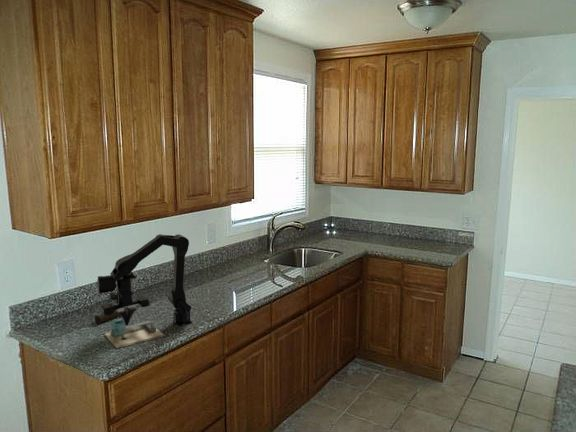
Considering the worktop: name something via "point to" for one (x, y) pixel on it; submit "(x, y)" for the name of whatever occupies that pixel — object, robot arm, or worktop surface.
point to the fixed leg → (150, 327)
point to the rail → (132, 327)
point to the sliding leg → (118, 327)
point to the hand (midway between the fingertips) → (126, 325)
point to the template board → (133, 337)
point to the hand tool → (105, 317)
